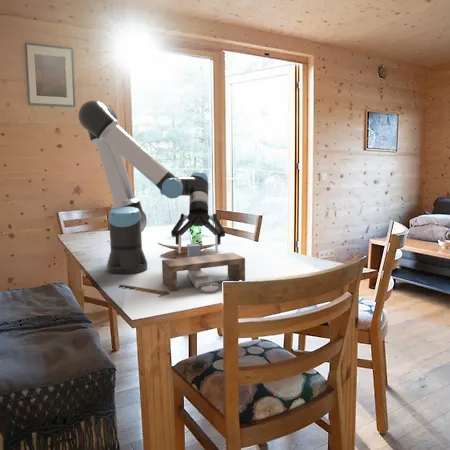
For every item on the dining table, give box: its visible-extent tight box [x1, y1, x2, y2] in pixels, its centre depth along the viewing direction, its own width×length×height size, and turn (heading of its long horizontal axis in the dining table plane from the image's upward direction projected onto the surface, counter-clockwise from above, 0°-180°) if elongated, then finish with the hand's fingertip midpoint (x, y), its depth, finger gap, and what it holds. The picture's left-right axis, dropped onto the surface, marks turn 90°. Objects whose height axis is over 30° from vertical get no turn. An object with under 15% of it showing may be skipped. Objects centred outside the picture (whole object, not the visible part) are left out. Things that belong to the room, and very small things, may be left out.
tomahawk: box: [118, 284, 170, 298], centre depth 132 cm, size 20×7×1 cm, turn 61°
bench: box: [161, 252, 246, 292], centre depth 142 cm, size 26×10×8 cm, turn 114°
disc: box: [198, 281, 220, 294], centre depth 134 cm, size 6×6×2 cm
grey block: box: [186, 243, 212, 289], centre depth 145 cm, size 5×18×11 cm, turn 15°
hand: (198, 251), depth 155 cm, fingers open, 13 cm apart
